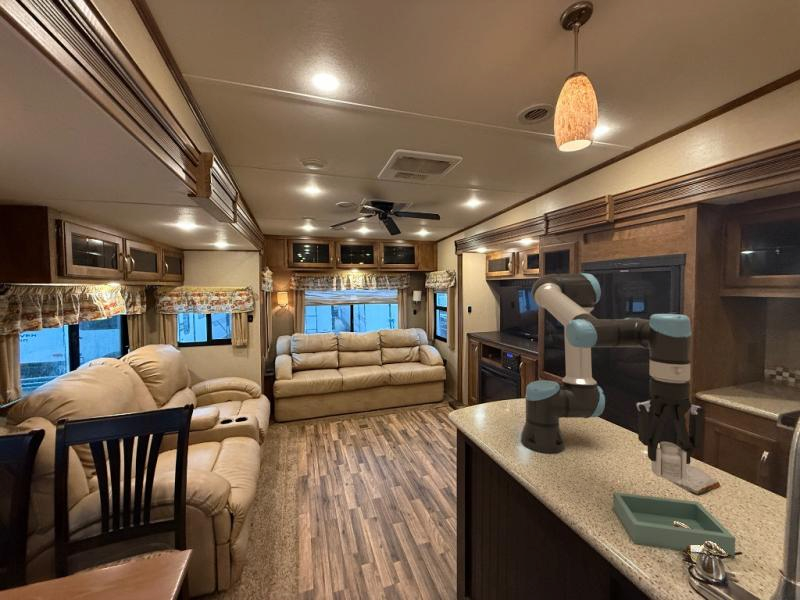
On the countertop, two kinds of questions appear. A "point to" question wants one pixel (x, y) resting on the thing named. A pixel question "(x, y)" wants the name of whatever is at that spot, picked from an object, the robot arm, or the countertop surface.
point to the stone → (697, 481)
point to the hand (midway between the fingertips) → (668, 474)
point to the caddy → (669, 523)
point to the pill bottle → (670, 461)
